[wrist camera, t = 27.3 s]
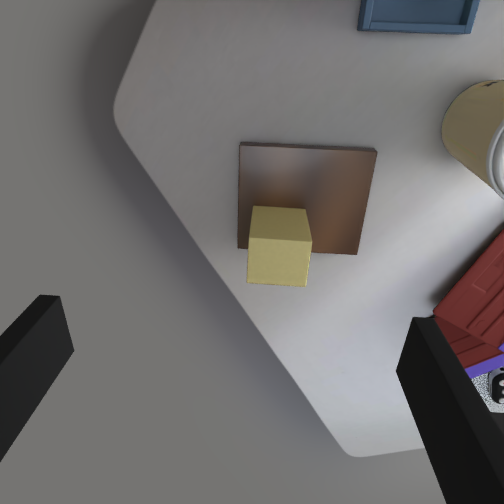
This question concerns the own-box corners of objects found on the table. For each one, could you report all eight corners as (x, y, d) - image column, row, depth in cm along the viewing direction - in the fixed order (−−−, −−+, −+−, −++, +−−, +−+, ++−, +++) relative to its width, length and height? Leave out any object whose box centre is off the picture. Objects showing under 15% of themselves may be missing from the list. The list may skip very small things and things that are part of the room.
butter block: (250, 245, 43) (246, 283, 36) (253, 205, 40) (248, 237, 33) (300, 248, 43) (305, 287, 36) (305, 208, 40) (312, 241, 33)
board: (238, 242, 45) (237, 248, 43) (240, 141, 39) (239, 144, 37) (354, 249, 44) (357, 255, 43) (374, 148, 38) (377, 151, 37)
